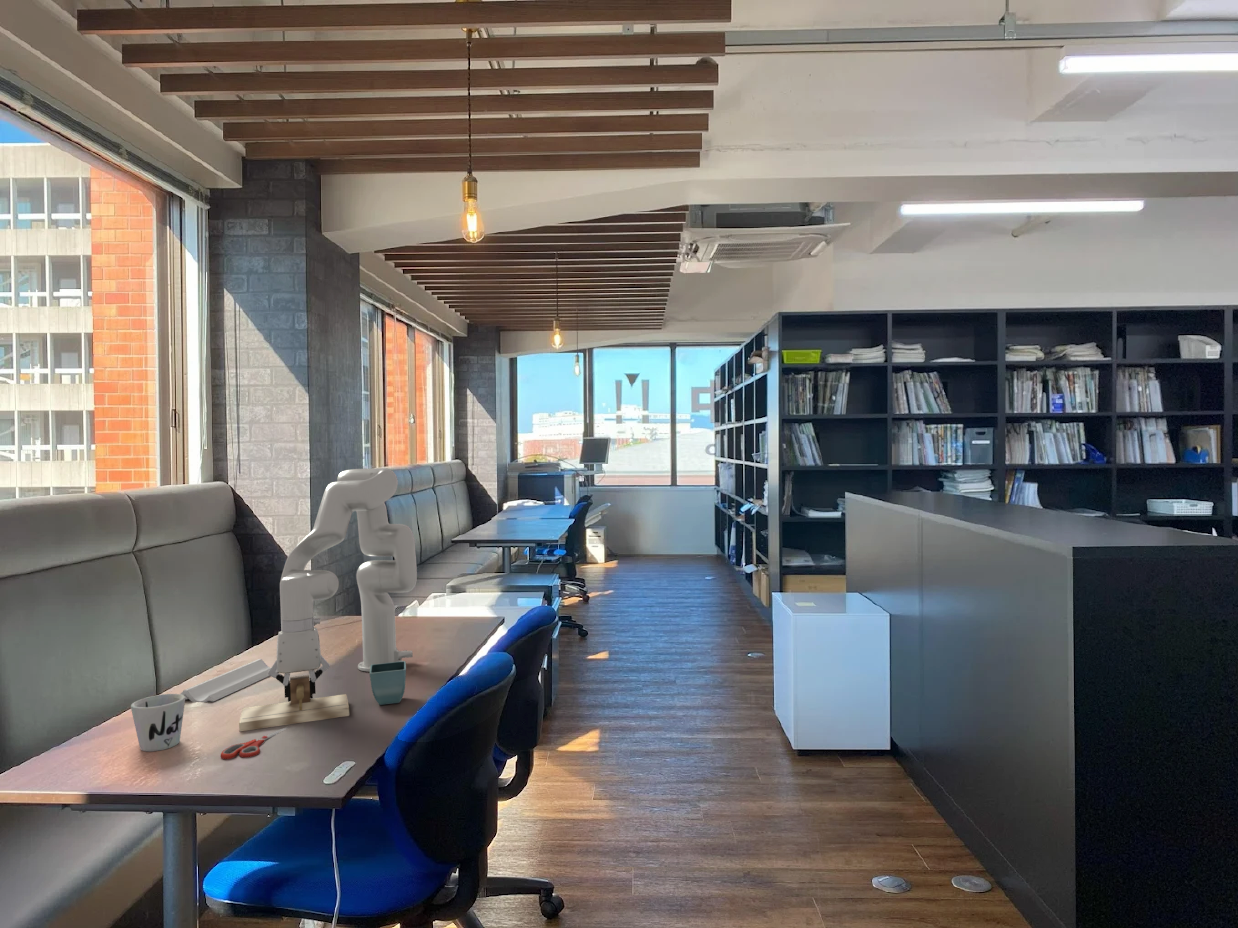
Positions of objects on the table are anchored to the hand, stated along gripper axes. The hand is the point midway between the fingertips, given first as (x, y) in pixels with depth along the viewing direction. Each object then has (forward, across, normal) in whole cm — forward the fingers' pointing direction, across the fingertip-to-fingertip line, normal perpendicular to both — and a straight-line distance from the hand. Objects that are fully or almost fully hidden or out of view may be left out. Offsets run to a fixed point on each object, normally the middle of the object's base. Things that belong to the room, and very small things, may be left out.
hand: (300, 697), depth 197 cm
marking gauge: (+2, 0, +4) cm, 4 cm away
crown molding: (+4, +18, -34) cm, 39 cm away
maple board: (+3, +1, +5) cm, 6 cm away
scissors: (+4, +9, +20) cm, 22 cm away
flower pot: (+3, -21, +4) cm, 21 cm away
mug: (+3, +30, +11) cm, 32 cm away
